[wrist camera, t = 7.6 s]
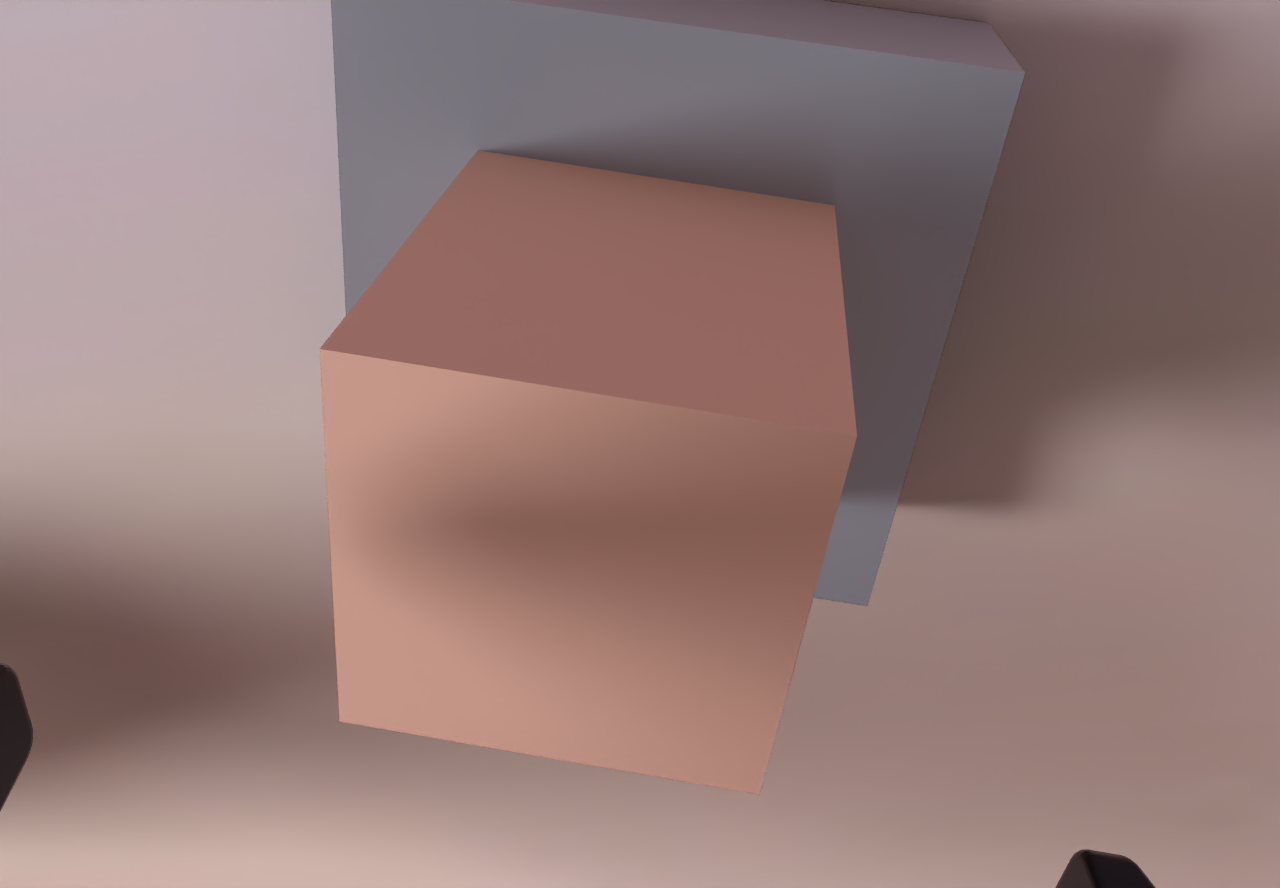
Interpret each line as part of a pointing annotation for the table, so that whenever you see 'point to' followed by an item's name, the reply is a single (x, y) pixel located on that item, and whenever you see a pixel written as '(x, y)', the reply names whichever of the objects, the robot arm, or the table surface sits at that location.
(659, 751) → the cube
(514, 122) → the plinth
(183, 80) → the table surface
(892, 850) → the table surface
